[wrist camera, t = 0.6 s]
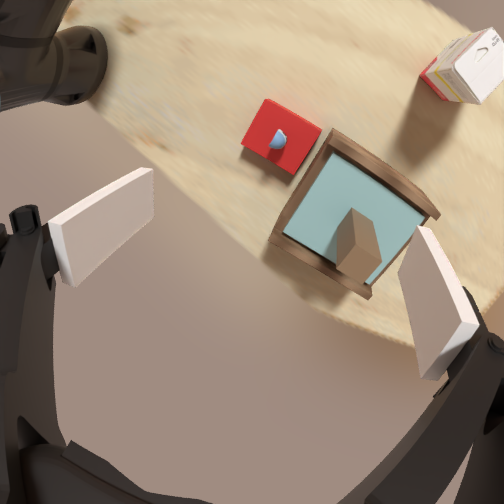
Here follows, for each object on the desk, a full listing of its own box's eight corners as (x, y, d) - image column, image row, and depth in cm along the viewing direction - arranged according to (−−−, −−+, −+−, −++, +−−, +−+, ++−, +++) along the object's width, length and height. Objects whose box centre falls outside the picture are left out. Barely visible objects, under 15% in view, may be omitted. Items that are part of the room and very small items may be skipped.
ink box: (442, 102, 30) (481, 107, 20) (417, 74, 29) (449, 68, 19) (477, 66, 25) (521, 63, 15) (453, 39, 25) (491, 24, 15)
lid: (284, 227, 37) (266, 272, 28) (333, 150, 31) (333, 173, 22) (368, 279, 37) (373, 333, 29) (422, 213, 31) (448, 256, 23)
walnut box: (280, 212, 44) (267, 240, 36) (332, 127, 36) (332, 136, 28) (364, 264, 44) (367, 300, 37) (421, 190, 36) (441, 214, 29)
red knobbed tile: (321, 129, 37) (319, 134, 31) (296, 170, 40) (289, 182, 35) (269, 99, 36) (258, 99, 31) (246, 140, 40) (232, 148, 35)
